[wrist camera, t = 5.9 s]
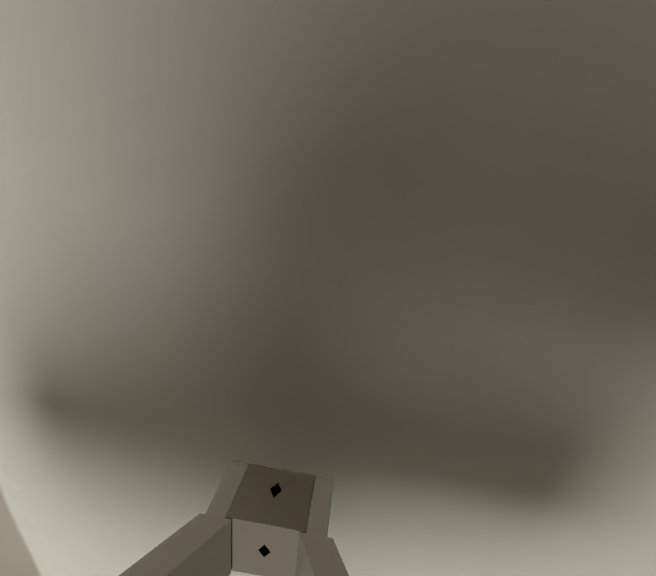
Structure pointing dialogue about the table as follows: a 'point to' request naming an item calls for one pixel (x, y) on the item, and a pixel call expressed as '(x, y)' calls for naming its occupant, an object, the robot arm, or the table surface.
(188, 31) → the table surface
